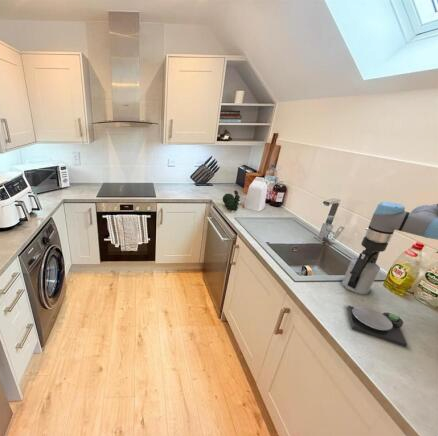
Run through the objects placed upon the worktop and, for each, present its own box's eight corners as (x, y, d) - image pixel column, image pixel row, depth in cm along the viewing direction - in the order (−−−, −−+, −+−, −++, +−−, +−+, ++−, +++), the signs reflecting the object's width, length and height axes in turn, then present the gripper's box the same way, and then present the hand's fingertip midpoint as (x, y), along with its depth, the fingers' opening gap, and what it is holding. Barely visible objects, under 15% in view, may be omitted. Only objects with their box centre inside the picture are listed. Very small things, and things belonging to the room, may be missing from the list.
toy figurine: (240, 215, 187) (229, 202, 209) (245, 193, 178) (233, 182, 199) (228, 215, 186) (218, 202, 208) (232, 193, 177) (222, 182, 199)
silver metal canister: (373, 296, 101) (385, 272, 96) (346, 291, 104) (356, 268, 99) (362, 282, 109) (373, 260, 104) (338, 278, 112) (347, 256, 107)
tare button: (396, 318, 87) (397, 315, 86) (398, 322, 85) (399, 320, 84) (386, 315, 88) (388, 312, 87) (388, 319, 86) (390, 317, 85)
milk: (244, 207, 198) (249, 177, 188) (250, 204, 205) (255, 175, 195) (258, 211, 190) (264, 180, 179) (264, 208, 197) (270, 177, 187)
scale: (397, 322, 88) (400, 316, 87) (409, 348, 78) (413, 342, 77) (347, 306, 95) (349, 301, 94) (352, 329, 85) (355, 323, 84)
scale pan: (387, 314, 88) (387, 313, 88) (396, 335, 79) (397, 334, 79) (350, 303, 93) (350, 302, 93) (355, 322, 84) (355, 321, 84)
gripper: (376, 229, 104) (358, 271, 113) (352, 241, 95) (334, 286, 104) (399, 236, 98) (378, 280, 107) (375, 250, 89) (354, 296, 98)
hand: (356, 283), depth 105 cm, fingers closed on silver metal canister, 9 cm apart
